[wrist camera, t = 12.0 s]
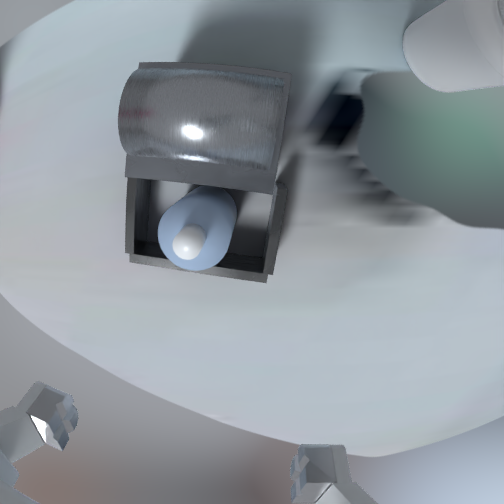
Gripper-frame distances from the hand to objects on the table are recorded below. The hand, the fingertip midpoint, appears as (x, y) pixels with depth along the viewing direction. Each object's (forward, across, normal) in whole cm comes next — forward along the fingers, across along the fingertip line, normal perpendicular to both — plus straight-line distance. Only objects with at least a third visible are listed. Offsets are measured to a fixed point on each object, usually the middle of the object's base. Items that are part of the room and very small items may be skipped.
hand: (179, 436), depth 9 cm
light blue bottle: (+20, +3, -2) cm, 21 cm away
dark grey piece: (+20, +3, -6) cm, 21 cm away
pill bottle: (+21, -16, -22) cm, 34 cm away
